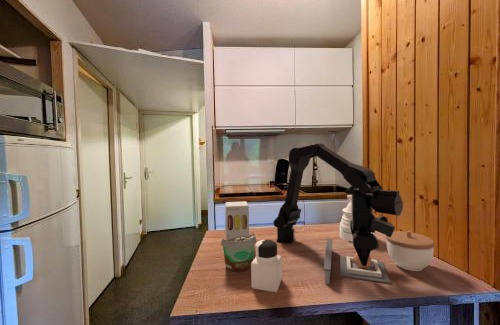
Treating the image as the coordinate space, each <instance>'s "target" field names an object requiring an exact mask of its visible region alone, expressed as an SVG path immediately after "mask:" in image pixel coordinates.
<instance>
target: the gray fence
mask: <svg viewBox="0 0 500 325" xmlns="http://www.w3.org/2000/svg"><path fill="white" fill-rule="evenodd" d="M324 254H325V255H324V263H323V271H324V284H326V285H328V286H329V285H330V284H331V283H330V282H331V270H332V254H333V239H332V238H327V239H326V247H325V253H324Z"/></svg>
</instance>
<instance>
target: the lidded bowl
mask: <svg viewBox="0 0 500 325" xmlns="http://www.w3.org/2000/svg"><path fill="white" fill-rule="evenodd" d="M385 239H386V249H387V253H388V255H389V257H390V259H391V260H392V261H393V262H394V263H395V265H396V266H397V267H399V268H400V269H403V270H406V271H409V272H410V271H411V272H420V271H423V269H425V268H426V267H428V266H430V265H431V262H432V260H433V257H434V252H435V251H434V250H435V249H434V248H435V241H434V240H433V239H432V238H431V237H429V236H426V235H423V234H420V233H417V232H412V231H411V230H406V231H404V230H403V231H402V230H394V232H393V234H392V236H391V237H388V236H386V235H385Z"/></svg>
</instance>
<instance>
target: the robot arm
mask: <svg viewBox="0 0 500 325" xmlns="http://www.w3.org/2000/svg"><path fill="white" fill-rule="evenodd" d="M316 157H318V158H319V159H320V160H322V162H324V163H326V164H328V165H329V166H331V167H332V168H333V169H335V170H336V171H338V172H339V173H340V174H341V175H342V177H343V179H344V180H345V182H347V183H348V184H349V185H350V187H349V188H348V189H347V190H346V191H344V193H345V194H346V195H352V220H351V221H350V229H351V233H352V235H353V242H352V244H353V248H354V249H355V252H356V253H357V255H358V257H359V259H360V262H361V264H362V266H366V265H367V262H368V258H369V256H370V255H371V252H372V251H374V250H377V249H379V240H378V238H377V236H376V235H375V234H376V232H377V233H380V234H383V235H385V237H386V236H388V237H391V236H392V234H393V232H394V231H395V230H396V226H394V224H393V223H392V222H390V221H389V222H388V216H384V215H380V216H379V217H375V215H374V213H373V211H375V212H376V213H380V214H385V215H391V216H392V215H393V216H396V217H399V216H401V214H402V211H403V207H404V201H403V200H402V197H401V195H400V190H387V189H384V188H383V187H382V186H381V183H379V181H378V180H377V178H376V175H375V172H374V171H373V170H372V169H370V168H367V167H365V166H362V165H360V164H356V163H353V162H350V161H349V160H347V158H346V159H345V158H344V157H342V156H341V155H340V154H338V153H336V152H335V151H334V150H332V149H330V148H328V147H327V146H326V145H325V144H323V143H312V144H311V145H306V146H302V147H292V148H291V149H290V150H289V153H288V164H289V168H290V173H289V177H288V178H289V179H288V185H287V189H286V194H285V200H284V203H283V204H282V206H281V207H280V209H279V211H278V215H277V217H276V218H275V219H274V220H273V222H272V223H273V226H274V227H275V228H276V230H277V231H276V232H277V236H276V238H277V239H276V243H286V244H293V241H295V239H296V238H295V235H296V234H295V233H296V232H295V229H294V226H296V225H297V221H299V219H301V213H302V209H301V208H299V205H298V202H299V197H300V191H301V186H302V179H303V176H304V171H305V170H306V168H307V167H308V165H309V163H310V160H311V159H312V158H316ZM372 233H373V234H372Z"/></svg>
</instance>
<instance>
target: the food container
mask: <svg viewBox="0 0 500 325" xmlns="http://www.w3.org/2000/svg"><path fill="white" fill-rule="evenodd" d="M257 242H258V241H257V236H256V234H255V233H254V232H252V234H251V235H250V234H249V236H241V237H236V238H233V239H230V240H226V239H225V238H223V237H222V238H221V242H220V246H221V247H222V248H223V256H224V262H225V263H224V264H225V269H226V270H228V271H230V272H234V273H243V272H247V271H249V270H251V263H252V261H253V260H254V257H255V256H254V254H255V245H256V243H257Z"/></svg>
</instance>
